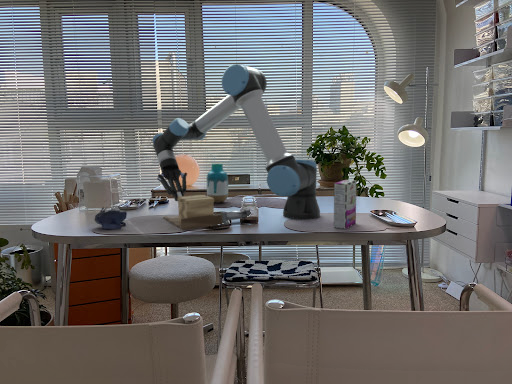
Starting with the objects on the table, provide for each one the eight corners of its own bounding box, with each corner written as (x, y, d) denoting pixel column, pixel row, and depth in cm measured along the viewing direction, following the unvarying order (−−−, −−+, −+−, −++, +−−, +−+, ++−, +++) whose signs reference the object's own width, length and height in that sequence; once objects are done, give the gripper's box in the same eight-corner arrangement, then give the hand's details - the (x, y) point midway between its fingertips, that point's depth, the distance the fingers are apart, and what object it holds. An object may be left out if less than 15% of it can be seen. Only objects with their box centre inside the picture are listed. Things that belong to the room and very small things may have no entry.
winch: (223, 226, 148) (223, 212, 147) (216, 223, 153) (216, 210, 152) (257, 221, 155) (257, 209, 154) (250, 219, 160) (250, 206, 159)
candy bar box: (343, 222, 153) (344, 179, 151) (356, 223, 151) (357, 180, 148) (332, 227, 144) (333, 182, 142) (345, 229, 141) (347, 183, 139)
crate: (178, 222, 151) (177, 196, 149) (204, 219, 156) (203, 194, 154) (187, 228, 142) (186, 200, 140) (214, 225, 147) (214, 198, 145)
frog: (101, 224, 152) (100, 204, 151) (132, 224, 152) (131, 204, 151) (89, 230, 143) (87, 209, 142) (122, 230, 142) (121, 209, 141)
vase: (232, 201, 201) (231, 163, 199) (221, 204, 192) (221, 165, 189) (214, 200, 206) (213, 162, 203) (203, 203, 196) (202, 164, 193)
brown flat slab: (163, 219, 160) (163, 208, 159) (198, 215, 167) (198, 205, 166) (182, 231, 140) (181, 219, 139) (221, 226, 147) (221, 214, 146)
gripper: (180, 168, 180) (195, 210, 168) (151, 169, 173) (164, 213, 161) (184, 156, 174) (199, 199, 162) (154, 157, 168) (168, 202, 156)
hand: (182, 206), depth 162 cm, fingers closed
